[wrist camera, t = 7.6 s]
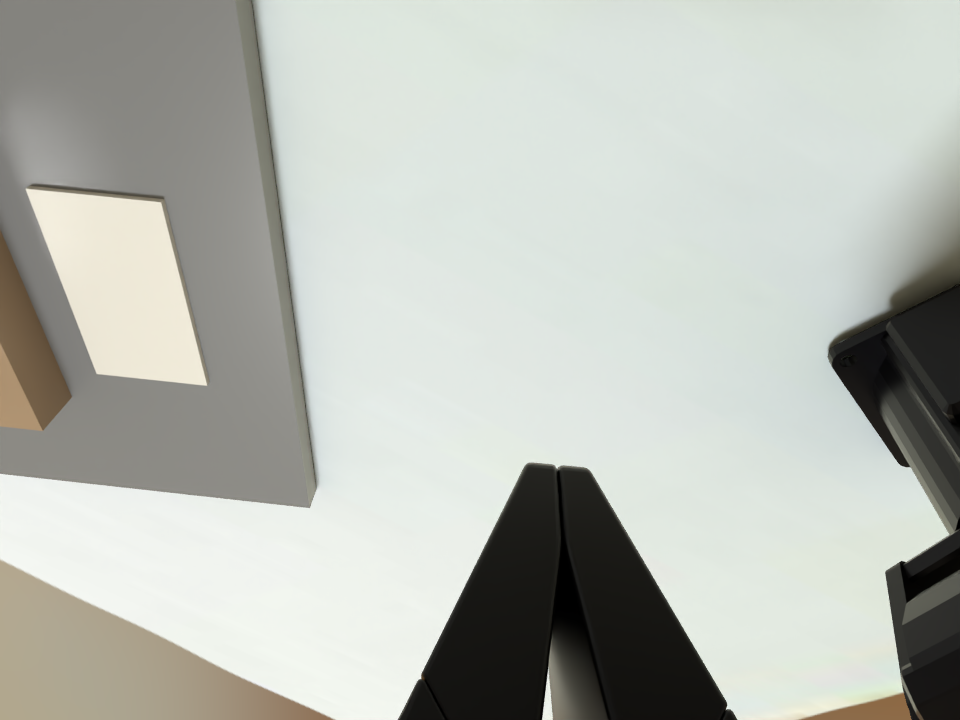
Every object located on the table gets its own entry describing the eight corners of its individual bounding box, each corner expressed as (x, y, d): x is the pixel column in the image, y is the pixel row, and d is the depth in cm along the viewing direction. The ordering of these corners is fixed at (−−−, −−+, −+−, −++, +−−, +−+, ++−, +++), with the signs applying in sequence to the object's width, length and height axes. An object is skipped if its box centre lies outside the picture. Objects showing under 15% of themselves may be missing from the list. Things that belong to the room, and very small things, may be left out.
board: (243, -59, 16) (194, -42, 14) (316, 489, 28) (296, 544, 26) (-477, -124, 16) (-638, -119, 14) (-93, 444, 29) (-146, 494, 26)
